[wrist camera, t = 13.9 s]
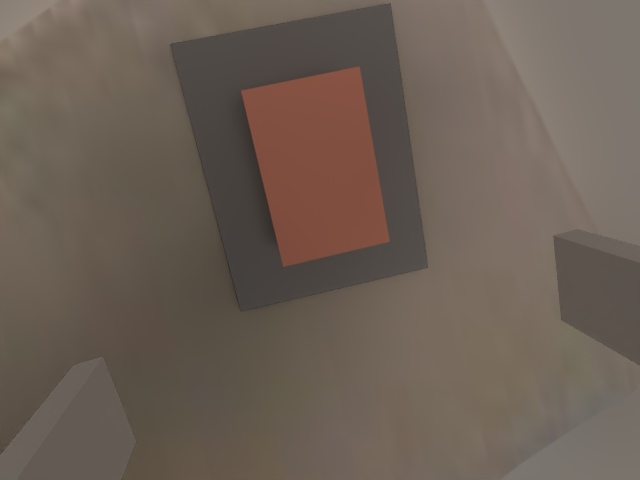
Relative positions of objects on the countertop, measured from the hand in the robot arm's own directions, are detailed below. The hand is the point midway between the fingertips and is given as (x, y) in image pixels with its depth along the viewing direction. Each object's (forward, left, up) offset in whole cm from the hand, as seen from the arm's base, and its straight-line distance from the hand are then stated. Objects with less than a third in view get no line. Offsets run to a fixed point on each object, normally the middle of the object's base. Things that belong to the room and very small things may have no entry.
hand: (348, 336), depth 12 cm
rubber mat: (+2, +3, -19) cm, 20 cm away
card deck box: (+2, +3, -18) cm, 19 cm away
